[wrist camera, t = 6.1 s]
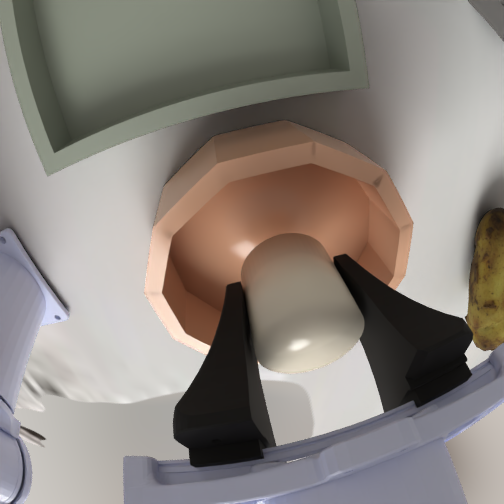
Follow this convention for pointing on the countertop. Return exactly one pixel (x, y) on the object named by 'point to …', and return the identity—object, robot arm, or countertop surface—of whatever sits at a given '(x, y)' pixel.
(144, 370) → the countertop surface
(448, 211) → the countertop surface
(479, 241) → the potato
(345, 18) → the parts tray
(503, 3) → the grey storage case
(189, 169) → the bowl
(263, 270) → the cream rounded capsule
